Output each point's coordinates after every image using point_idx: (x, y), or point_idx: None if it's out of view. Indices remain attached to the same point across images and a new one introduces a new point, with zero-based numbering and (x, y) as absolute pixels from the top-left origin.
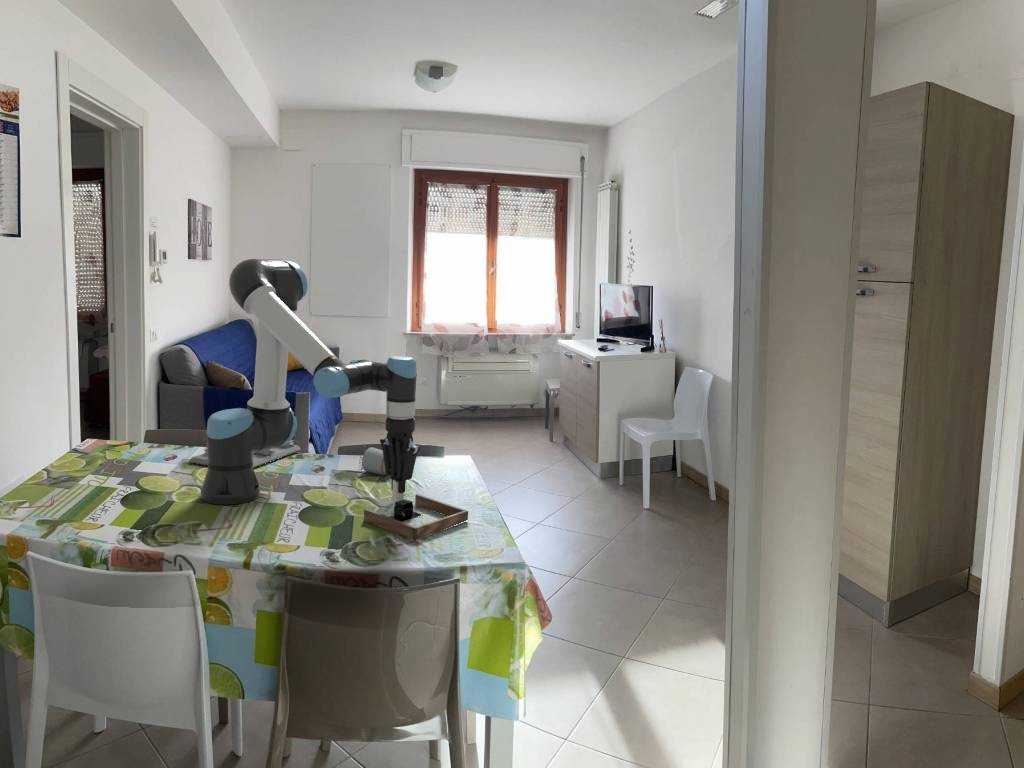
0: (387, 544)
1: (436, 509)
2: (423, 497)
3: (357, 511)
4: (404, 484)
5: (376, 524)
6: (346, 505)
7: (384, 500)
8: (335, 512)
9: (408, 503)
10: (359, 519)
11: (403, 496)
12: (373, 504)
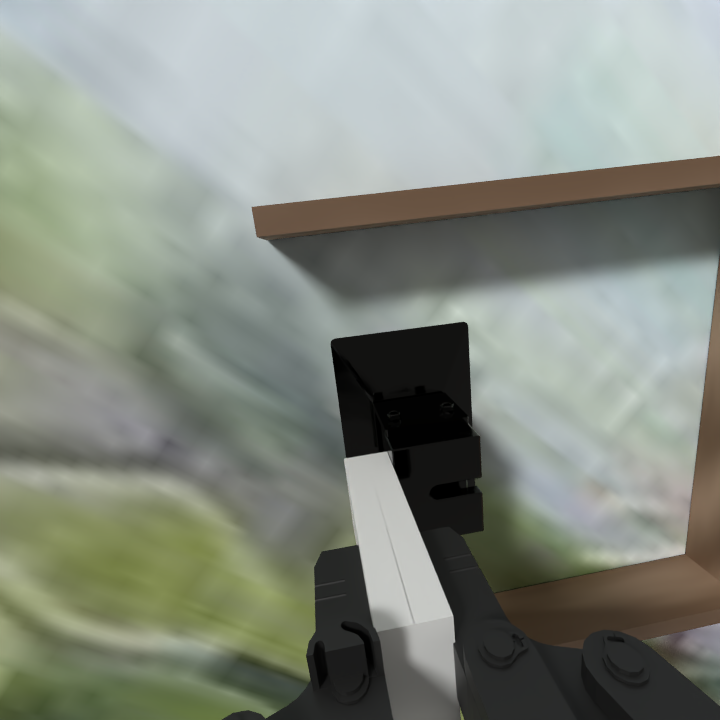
0: None
1: (498, 212)
2: (364, 223)
3: (177, 610)
4: (492, 604)
5: None
6: (31, 620)
7: (43, 370)
8: (129, 706)
9: (480, 475)
10: (305, 648)
11: (398, 482)
12: (95, 478)
